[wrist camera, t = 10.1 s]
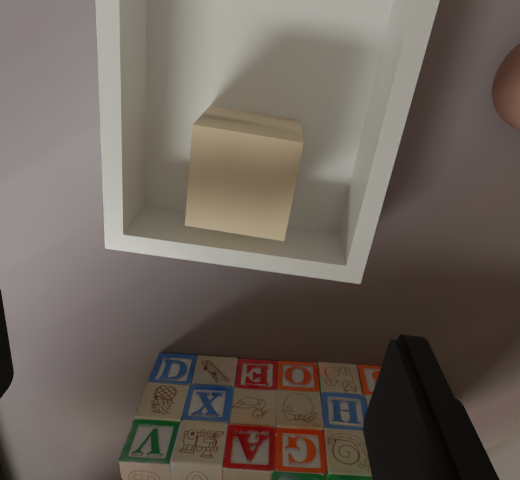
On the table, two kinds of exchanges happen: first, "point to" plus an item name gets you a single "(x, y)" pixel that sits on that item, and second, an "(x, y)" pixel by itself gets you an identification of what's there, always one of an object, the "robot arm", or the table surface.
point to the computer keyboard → (2, 474)
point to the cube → (243, 172)
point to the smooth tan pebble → (508, 89)
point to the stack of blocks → (250, 420)
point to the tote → (263, 102)
